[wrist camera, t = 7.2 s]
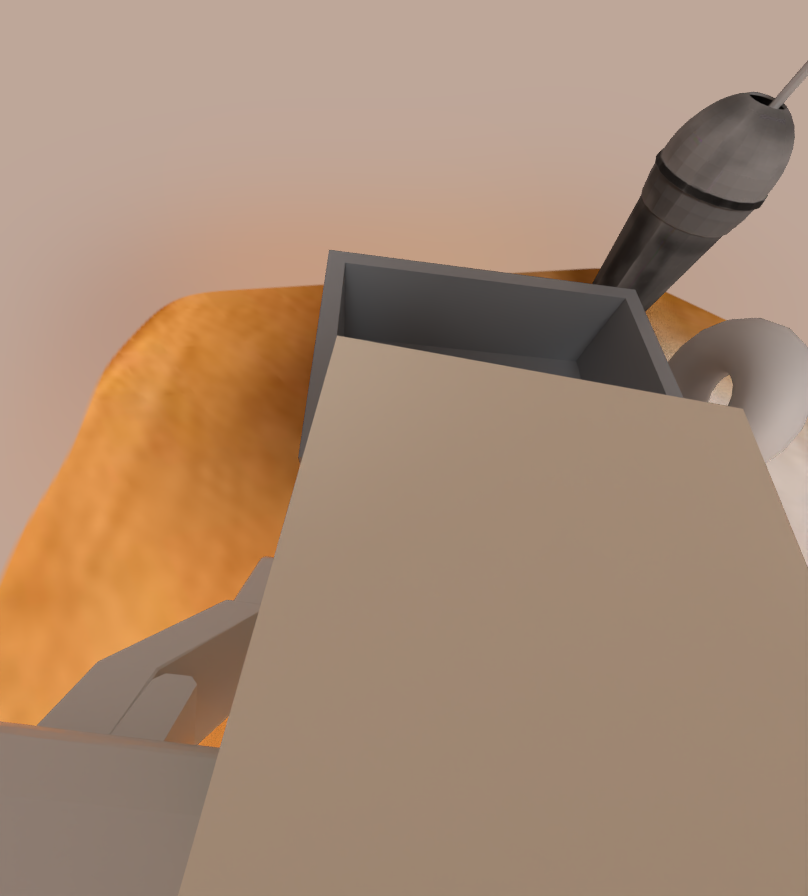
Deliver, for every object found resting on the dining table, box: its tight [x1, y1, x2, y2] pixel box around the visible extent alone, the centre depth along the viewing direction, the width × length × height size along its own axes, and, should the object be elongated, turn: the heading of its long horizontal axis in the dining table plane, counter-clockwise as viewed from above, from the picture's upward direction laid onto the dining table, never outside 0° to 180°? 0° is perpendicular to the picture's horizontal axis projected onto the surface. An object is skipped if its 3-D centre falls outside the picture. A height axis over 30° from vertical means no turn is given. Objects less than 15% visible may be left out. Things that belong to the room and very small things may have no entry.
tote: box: [298, 250, 683, 464], centre depth 24 cm, size 20×14×7 cm
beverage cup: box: [592, 61, 808, 311], centre depth 26 cm, size 7×7×20 cm
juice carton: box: [178, 336, 808, 896], centre depth 9 cm, size 5×5×14 cm
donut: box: [668, 318, 808, 463], centre depth 24 cm, size 10×4×10 cm, turn 174°
